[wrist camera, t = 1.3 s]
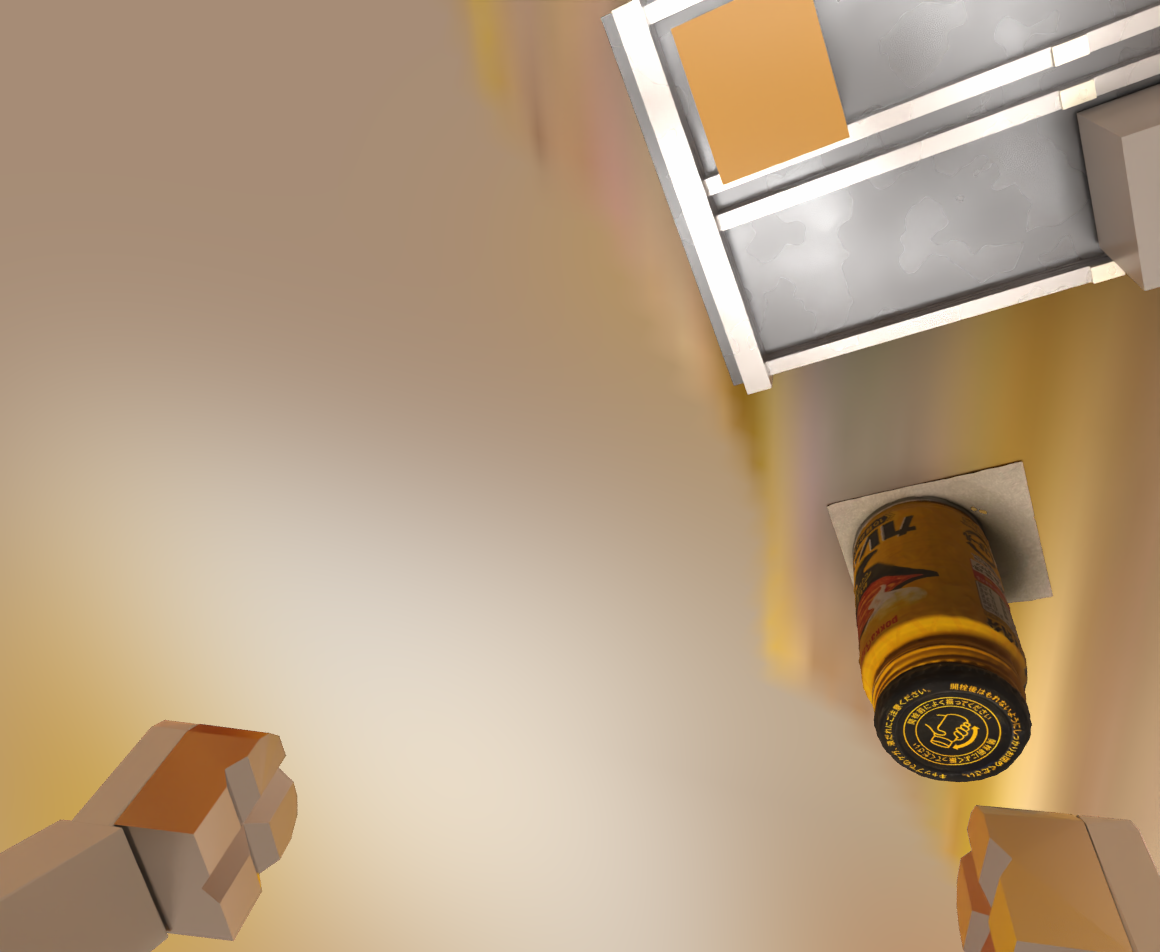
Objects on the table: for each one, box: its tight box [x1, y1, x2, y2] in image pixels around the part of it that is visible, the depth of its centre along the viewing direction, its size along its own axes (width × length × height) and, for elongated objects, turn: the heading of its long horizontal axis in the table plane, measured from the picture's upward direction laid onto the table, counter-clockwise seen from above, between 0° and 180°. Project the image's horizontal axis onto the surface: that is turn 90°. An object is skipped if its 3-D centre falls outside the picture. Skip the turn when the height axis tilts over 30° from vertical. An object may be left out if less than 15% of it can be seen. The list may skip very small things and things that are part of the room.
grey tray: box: [601, 0, 1160, 394], centre depth 31 cm, size 22×15×3 cm
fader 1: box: [671, 0, 850, 185], centre depth 29 cm, size 4×5×5 cm
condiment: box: [827, 462, 1053, 782], centre depth 37 cm, size 7×8×12 cm
